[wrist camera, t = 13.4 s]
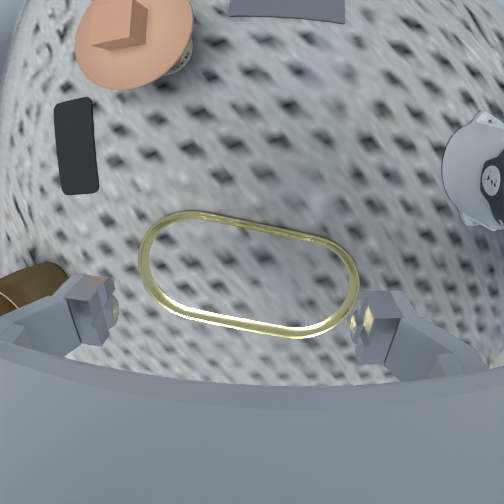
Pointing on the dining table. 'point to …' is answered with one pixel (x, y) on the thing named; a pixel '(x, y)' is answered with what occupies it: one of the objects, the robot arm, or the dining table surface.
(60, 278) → the plant pot
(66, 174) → the phone
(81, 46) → the lid
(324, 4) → the mat
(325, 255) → the dining table surface
